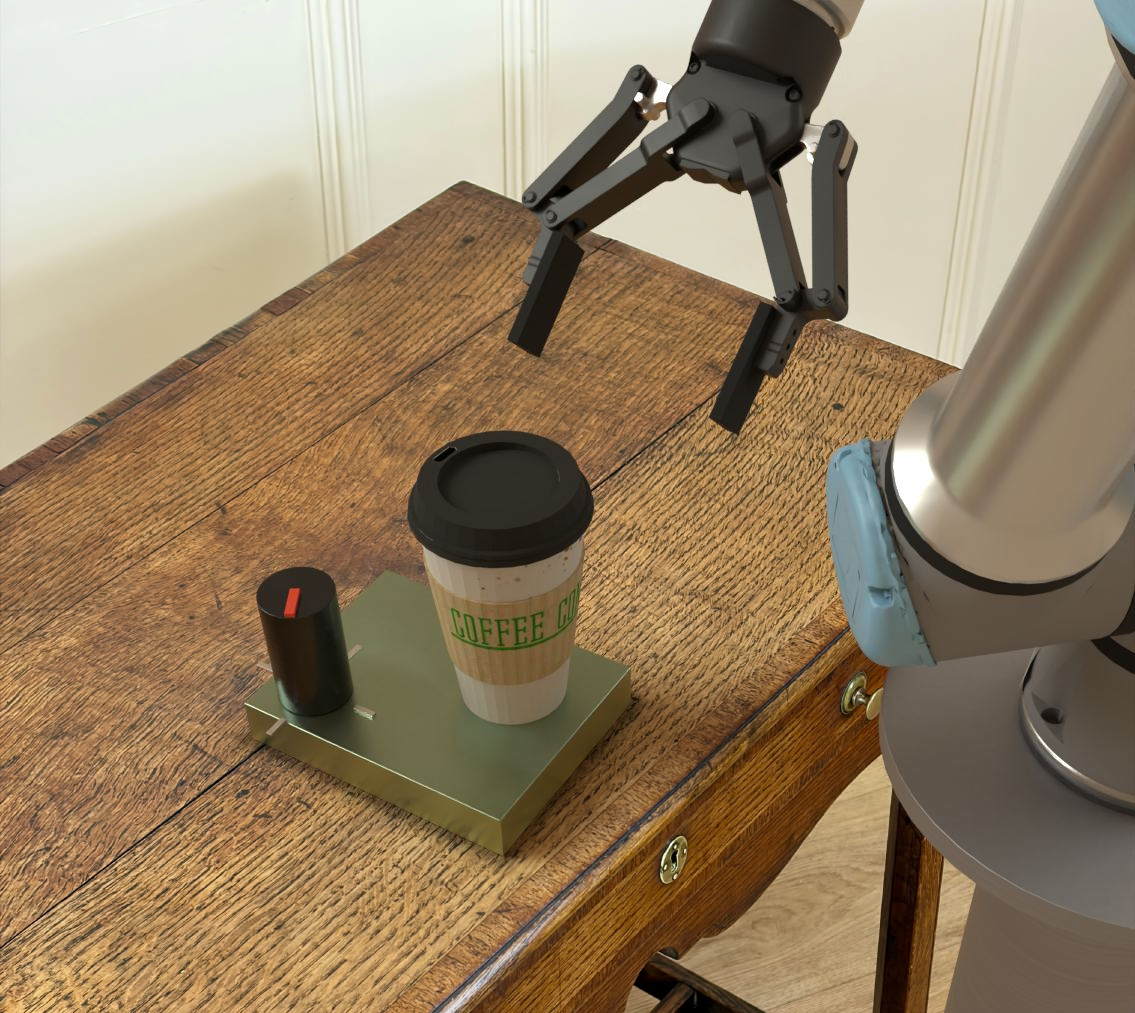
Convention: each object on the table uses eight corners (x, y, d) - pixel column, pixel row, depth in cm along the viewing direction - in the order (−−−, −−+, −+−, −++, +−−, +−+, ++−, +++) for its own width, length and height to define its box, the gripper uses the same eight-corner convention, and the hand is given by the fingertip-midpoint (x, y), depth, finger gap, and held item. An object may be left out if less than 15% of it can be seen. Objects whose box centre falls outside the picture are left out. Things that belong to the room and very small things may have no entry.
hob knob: (284, 663, 95) (261, 562, 89) (357, 663, 95) (339, 561, 89) (272, 715, 92) (248, 614, 86) (348, 716, 92) (329, 614, 86)
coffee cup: (528, 773, 88) (513, 563, 77) (395, 701, 92) (363, 492, 81) (631, 673, 93) (631, 464, 82) (501, 609, 98) (485, 402, 87)
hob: (631, 703, 96) (631, 665, 94) (490, 872, 87) (486, 835, 85) (375, 598, 103) (369, 560, 101) (221, 744, 95) (210, 706, 92)
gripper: (1010, 101, 83) (837, 478, 86) (621, 1, 94) (479, 339, 96) (979, 32, 76) (792, 444, 79) (564, -67, 87) (413, 298, 90)
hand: (619, 387), depth 88 cm, fingers open, 13 cm apart
